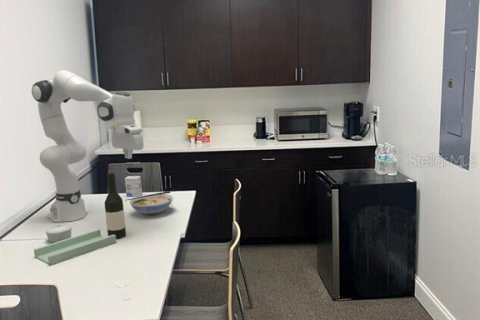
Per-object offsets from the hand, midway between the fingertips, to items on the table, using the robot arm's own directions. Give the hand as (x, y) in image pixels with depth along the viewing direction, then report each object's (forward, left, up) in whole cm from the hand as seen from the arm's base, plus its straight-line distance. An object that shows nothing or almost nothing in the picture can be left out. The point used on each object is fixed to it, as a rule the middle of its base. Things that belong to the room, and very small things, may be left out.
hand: (128, 158), depth 217 cm
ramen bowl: (-16, +22, -35) cm, 44 cm away
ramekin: (-19, -28, -35) cm, 49 cm away
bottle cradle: (0, -30, -34) cm, 46 cm away
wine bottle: (0, -10, -35) cm, 36 cm away
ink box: (-54, +37, -35) cm, 74 cm away
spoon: (+49, -39, -35) cm, 72 cm away
